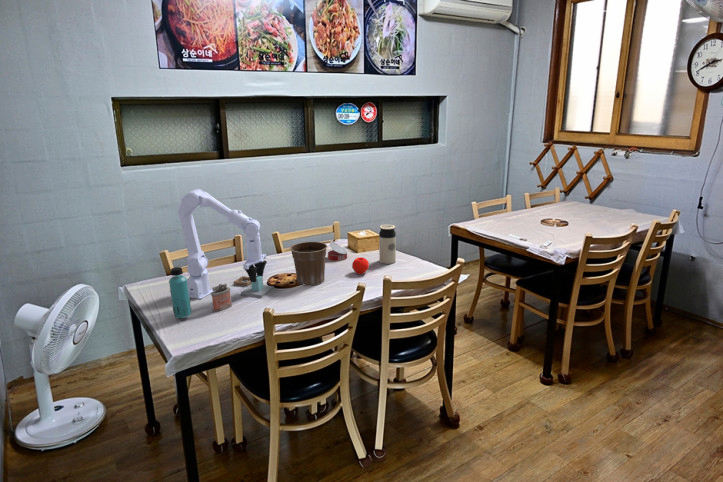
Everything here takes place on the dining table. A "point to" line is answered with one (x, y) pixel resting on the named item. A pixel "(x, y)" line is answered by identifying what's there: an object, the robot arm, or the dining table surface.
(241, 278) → the collar
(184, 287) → the beverage bottle
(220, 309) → the crushed red tin
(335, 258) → the canned food
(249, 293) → the mat
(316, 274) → the plant pot
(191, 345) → the dining table surface
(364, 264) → the apple
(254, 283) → the peg
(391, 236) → the travel mug
